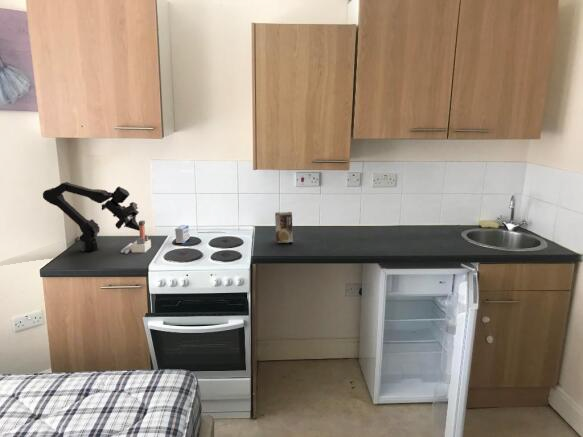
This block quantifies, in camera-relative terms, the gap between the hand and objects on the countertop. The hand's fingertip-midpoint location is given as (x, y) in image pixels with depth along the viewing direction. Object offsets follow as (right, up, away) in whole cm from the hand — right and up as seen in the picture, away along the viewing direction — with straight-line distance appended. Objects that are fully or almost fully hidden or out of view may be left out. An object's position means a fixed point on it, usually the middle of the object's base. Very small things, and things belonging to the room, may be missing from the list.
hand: (140, 230), depth 232 cm
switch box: (0, -10, +3) cm, 11 cm away
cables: (-7, -10, +3) cm, 13 cm away
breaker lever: (+1, -5, +1) cm, 5 cm away
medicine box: (+19, -7, +14) cm, 25 cm away
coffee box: (+74, -7, +10) cm, 75 cm away
